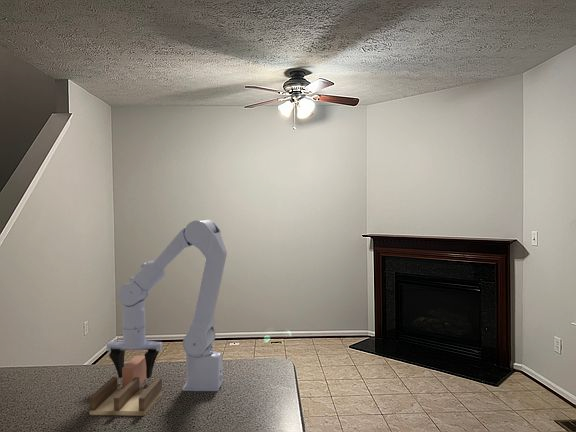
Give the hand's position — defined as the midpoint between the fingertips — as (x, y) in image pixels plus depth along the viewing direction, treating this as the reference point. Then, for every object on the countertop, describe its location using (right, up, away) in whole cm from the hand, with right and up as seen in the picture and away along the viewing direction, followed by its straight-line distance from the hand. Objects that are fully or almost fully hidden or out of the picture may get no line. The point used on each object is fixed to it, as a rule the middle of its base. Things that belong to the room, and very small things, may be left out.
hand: (135, 376), depth 131 cm
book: (0, -2, 0) cm, 2 cm away
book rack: (+2, -2, -13) cm, 13 cm away
